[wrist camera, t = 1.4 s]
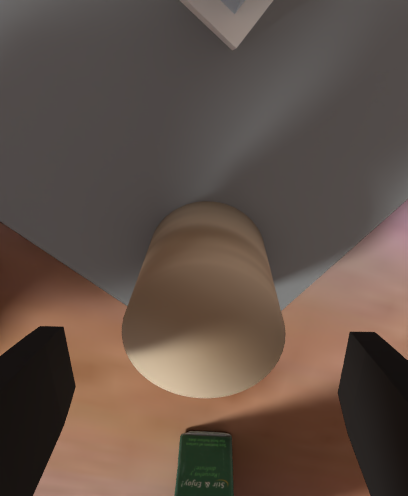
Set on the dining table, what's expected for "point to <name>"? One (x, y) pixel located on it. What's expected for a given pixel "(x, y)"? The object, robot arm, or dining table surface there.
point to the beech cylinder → (204, 305)
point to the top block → (233, 4)
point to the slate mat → (201, 128)
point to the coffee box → (205, 464)
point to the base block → (228, 18)
